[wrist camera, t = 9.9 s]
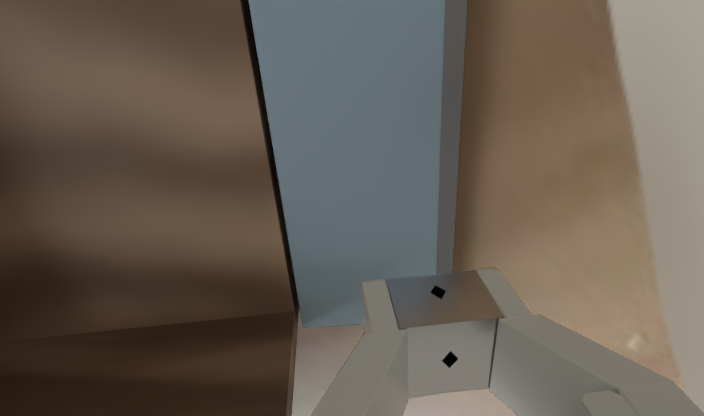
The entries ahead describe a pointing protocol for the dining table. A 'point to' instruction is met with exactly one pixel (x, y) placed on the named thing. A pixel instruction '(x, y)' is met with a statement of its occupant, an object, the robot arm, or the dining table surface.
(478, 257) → the dining table surface
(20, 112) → the box
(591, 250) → the dining table surface
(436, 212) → the panel
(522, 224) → the dining table surface
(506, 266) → the dining table surface
